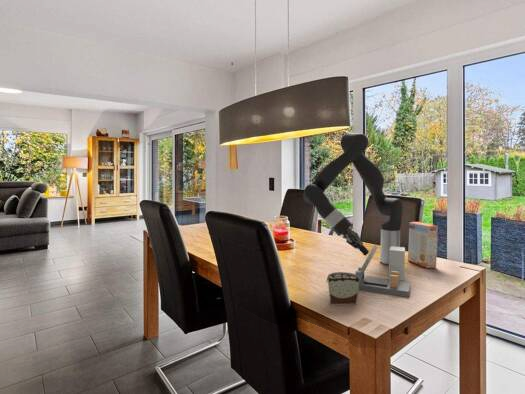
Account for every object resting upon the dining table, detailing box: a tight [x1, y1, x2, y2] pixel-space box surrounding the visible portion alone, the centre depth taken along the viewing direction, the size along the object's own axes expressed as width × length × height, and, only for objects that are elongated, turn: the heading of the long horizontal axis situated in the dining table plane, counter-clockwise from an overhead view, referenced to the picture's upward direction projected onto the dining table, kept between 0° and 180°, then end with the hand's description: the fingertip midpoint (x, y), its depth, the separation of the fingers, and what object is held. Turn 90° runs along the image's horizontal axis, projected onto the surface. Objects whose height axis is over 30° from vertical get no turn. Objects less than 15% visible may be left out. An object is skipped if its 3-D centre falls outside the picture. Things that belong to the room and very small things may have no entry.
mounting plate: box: [355, 266, 411, 298], centre depth 137 cm, size 12×26×6 cm, turn 64°
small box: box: [388, 246, 406, 281], centre depth 149 cm, size 8×6×13 cm
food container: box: [326, 271, 361, 306], centre depth 122 cm, size 12×6×10 cm, turn 92°
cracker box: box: [407, 221, 439, 269], centre depth 169 cm, size 14×6×21 cm, turn 13°
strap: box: [360, 244, 379, 276], centre depth 138 cm, size 4×2×15 cm, turn 154°
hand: (367, 253), depth 138 cm, fingers closed
